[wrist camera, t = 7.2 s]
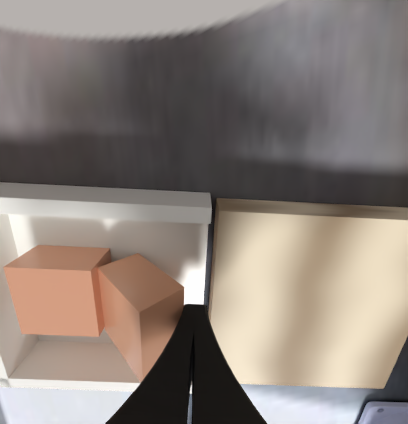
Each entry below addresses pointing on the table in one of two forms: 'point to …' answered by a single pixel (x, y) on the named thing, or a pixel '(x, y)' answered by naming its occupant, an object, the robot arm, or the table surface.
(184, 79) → the table surface
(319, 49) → the table surface
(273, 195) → the table surface
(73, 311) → the tile
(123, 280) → the tile
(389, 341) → the board
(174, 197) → the tray
